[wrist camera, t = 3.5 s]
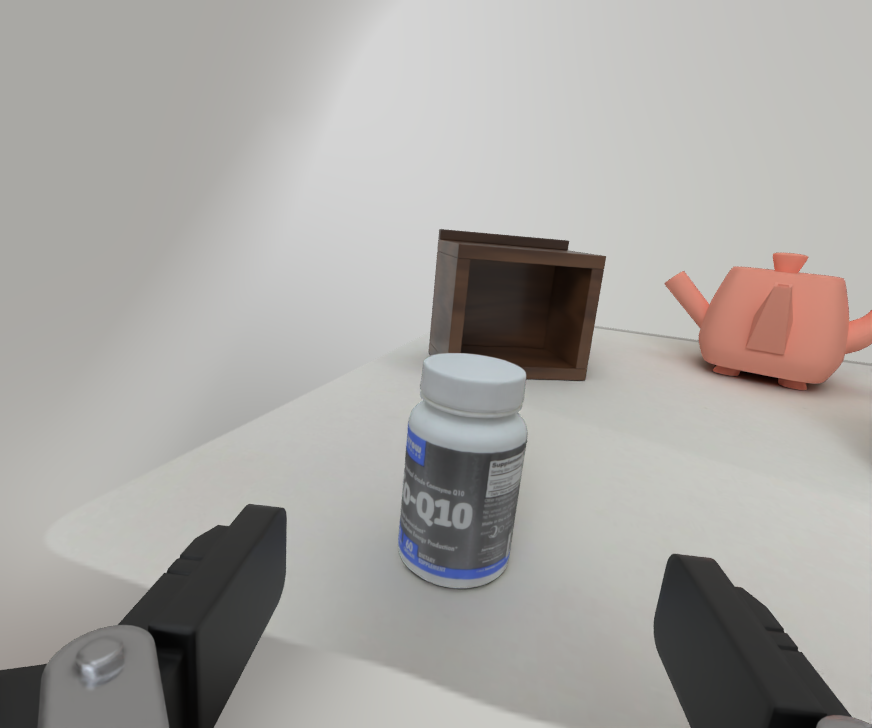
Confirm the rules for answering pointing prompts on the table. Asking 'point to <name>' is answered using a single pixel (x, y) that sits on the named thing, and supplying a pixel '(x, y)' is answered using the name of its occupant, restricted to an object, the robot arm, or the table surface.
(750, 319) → the teapot
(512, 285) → the shelf
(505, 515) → the pill bottle
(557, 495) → the table surface
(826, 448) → the table surface
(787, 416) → the table surface
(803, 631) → the table surface
